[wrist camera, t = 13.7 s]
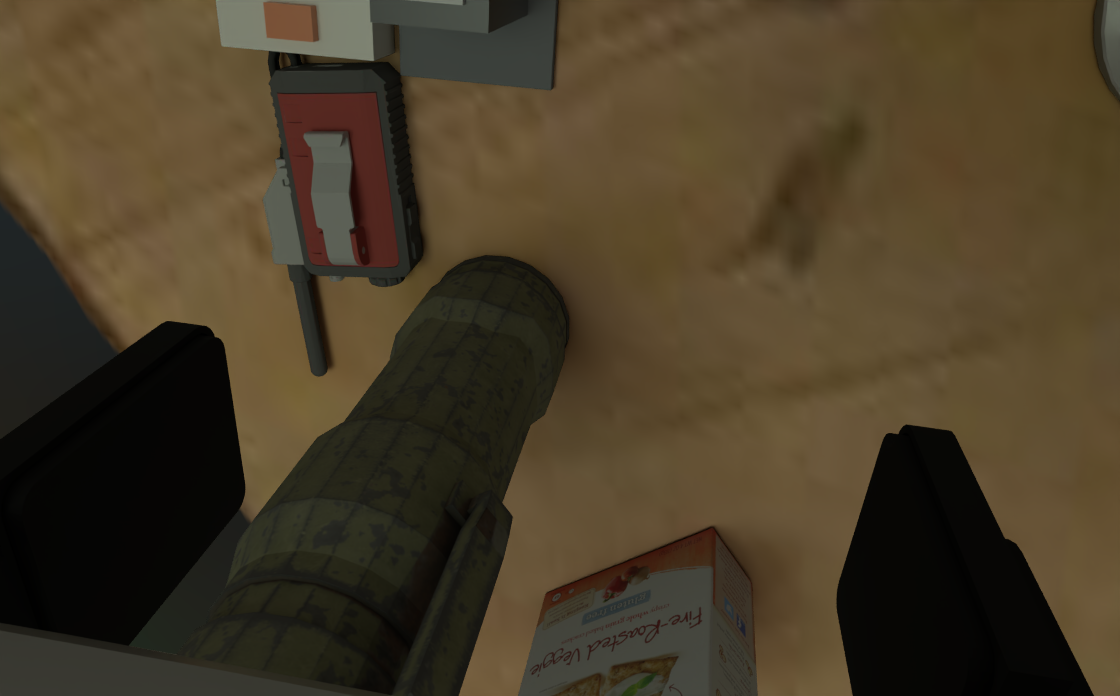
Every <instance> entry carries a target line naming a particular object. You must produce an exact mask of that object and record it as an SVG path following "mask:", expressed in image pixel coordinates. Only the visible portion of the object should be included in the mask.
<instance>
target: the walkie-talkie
mask: <svg viewBox="0 0 1120 696" xmlns="http://www.w3.org/2000/svg"><path fill="white" fill-rule="evenodd" d="M285 53H286V54H288V57H289V59H290V62H291V66H288V67H285V68H282V69H280V65H279V56H280V52H277V51H269V57H268V65H269V71H270V76H271V80H270V82H269V85H270V87H271V96H272V97H273V102H274V103H273V106H274V107H275V117H276V118H277V123H278V124H277V127H278V128H279V133H280V134H279V137H280V138H281V143H282V144H281V148H280V157H279V158H277V159H275V162H276V167H277V172H276V174H275V176H274V178H273V180H272V182H271V184H270V186H269V188H268V190H267V192H266V194H265V196H264V198H263V203H264V207H265V212H266V217H267V222H268V227H269V231H270V236H271V241H272V246H273V250H272V257H273V262H274V263H275V264H287V266H288V271H289V277H290V280H291V281H292V282H293V284H294V289H295V294H296V299H297V304H298V309H299V314H300V318H301V323H302V328H303V333H304V338H305V343H306V348H307V353H308V358H309V363H310V368H311V372H312V373H313V374H314V375H315V376H323V375H324V374H326V372H327V369H328V368H327V363H326V357H325V352H324V347H323V342H322V337H321V332H320V326H319V321H318V316H317V311H316V306H315V301H314V295H313V290H312V285H311V280H310V279H311V278H312V274H314V275H319V276H329V277H330V280H331V281H334V282H336V281H341V280H343V279H344V277H369V281H370V283H371V284H373V285H376V286H379V287H387V286H393V285H397V284H399V283H401V282H402V281H403V280H404V279H405V276H407V275H408V274H409V272H410V271H411V270H412V269H413V268H414V267H415V266H416V265H417V263H418V262H419V261H420V259H421V258H422V256H423V250H422V242H421V234H420V226H419V218H418V210H417V201H416V193H415V185H414V183H413V182H412V177H413V174H412V173H411V168H412V164H410V158H411V155H410V154H409V150H408V149H409V148H410V145H409V144H408V142H407V139H408V138H409V136H408V135H407V134H406V129H407V125H406V124H405V118H406V115H405V114H404V110H403V108H405V105H404V104H403V102H402V98H403V97H404V96H403V94H402V93H401V87H402V84H401V83H400V77H401V75H400V74H399V73H398V72H397V71H396V70H395V69H394V68H393V66H392V65H391V64H390V63H389V62H367V63H306V64H302V62H301V58H300V55H299V54H297V53H287V52H285Z"/></svg>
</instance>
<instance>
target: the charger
mask: <svg viewBox="0 0 1120 696" xmlns="http://www.w3.org/2000/svg"><path fill="white" fill-rule="evenodd" d="M527 15H528V0H370V22H373V23H383V24H394V25H404V26H415V27H425V28H436V29H446V30H457V31H467V32H478V33H490V32H493V31H495V30H497V29H499V28H501V27H503V26H505V25H508V24H510V23H512V22H514V21H516V20H518V19H520V18H522V17H525V16H527Z"/></svg>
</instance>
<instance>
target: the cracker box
mask: <svg viewBox="0 0 1120 696" xmlns="http://www.w3.org/2000/svg"><path fill="white" fill-rule="evenodd" d="M518 696H758V692H757V674H756V654H755V634H754V614H753V593H752V583H751V581H750V580H749V578H748V577H747V576H746V574H745V573H744V571H743V570H742V568H741V567H740V566H739V564H738V563H737V562H736V560H735V559H734V557H733V556H732V554H731V553H730V552H729V550H728V549H727V547H726V546H725V544H724V543H723V542H722V540H721V539H720V538H719V536H718V535H717V533H716V532H715V530H714V529H713V528H710V529H708V530H705V531H703V532H701V533H698V534H696V535H693V536H691V537H688V538H686V539H683V540H681V541H678V542H675V543H673V544H670V545H668V546H666V547H663V548H661V549H658V550H655V551H653V552H650V553H648V554H645V555H643V556H640V557H638V558H635V559H633V560H630V561H627V562H625V563H622V564H620V565H617V566H615V567H612V568H610V569H607V570H605V571H602V572H600V573H597V574H595V575H592V576H589V577H587V578H584V579H582V580H579V581H577V582H574V583H572V584H569V585H567V586H564V587H562V588H559V589H556V590H554V591H551V592H549V593H546V595H545V598H544V602H543V605H542V609H541V613H540V616H539V620H538V624H537V627H536V631H535V635H534V638H533V642H532V646H531V650H530V653H529V657H528V661H527V665H526V668H525V672H524V676H523V679H522V683H521V687H520V690H519V694H518Z"/></svg>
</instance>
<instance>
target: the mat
mask: <svg viewBox="0 0 1120 696" xmlns="http://www.w3.org/2000/svg"><path fill="white" fill-rule="evenodd" d="M557 9H558V0H528V15H527V16H525V17H522V18H520V19H518V20H516V21H514V22H512V23H510V24H508V25H505V26H503V27H501V28H499V29H497V30H495V31H493V32H490V33H478V32H467V31H457V30H446V29H436V28H425V27H415V26H404V25H399V36H400V72H401V75H403V76H413V77H423V78H433V79H443V80H453V81H463V82H473V83H483V84H493V85H503V86H513V87H524V88H534V89H544V90H552V88H553V77H554V60H555V43H556V26H557Z"/></svg>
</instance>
